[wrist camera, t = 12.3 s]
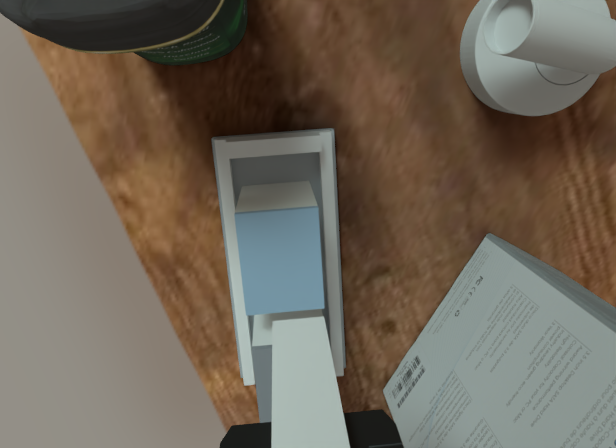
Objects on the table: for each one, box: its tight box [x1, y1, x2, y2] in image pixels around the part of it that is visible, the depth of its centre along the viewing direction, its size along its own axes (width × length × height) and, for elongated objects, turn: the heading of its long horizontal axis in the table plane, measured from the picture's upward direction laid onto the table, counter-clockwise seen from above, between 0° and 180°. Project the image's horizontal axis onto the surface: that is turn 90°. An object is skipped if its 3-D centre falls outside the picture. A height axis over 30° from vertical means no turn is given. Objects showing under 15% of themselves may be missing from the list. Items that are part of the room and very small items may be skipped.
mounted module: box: [252, 309, 323, 423], centre depth 33 cm, size 6×4×7 cm
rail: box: [211, 128, 346, 385], centre depth 34 cm, size 18×8×3 cm, turn 4°
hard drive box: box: [383, 233, 616, 448], centre depth 29 cm, size 16×8×20 cm, turn 152°
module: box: [234, 181, 325, 316], centre depth 30 cm, size 6×4×7 cm
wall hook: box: [460, 0, 616, 116], centre depth 28 cm, size 9×10×10 cm
